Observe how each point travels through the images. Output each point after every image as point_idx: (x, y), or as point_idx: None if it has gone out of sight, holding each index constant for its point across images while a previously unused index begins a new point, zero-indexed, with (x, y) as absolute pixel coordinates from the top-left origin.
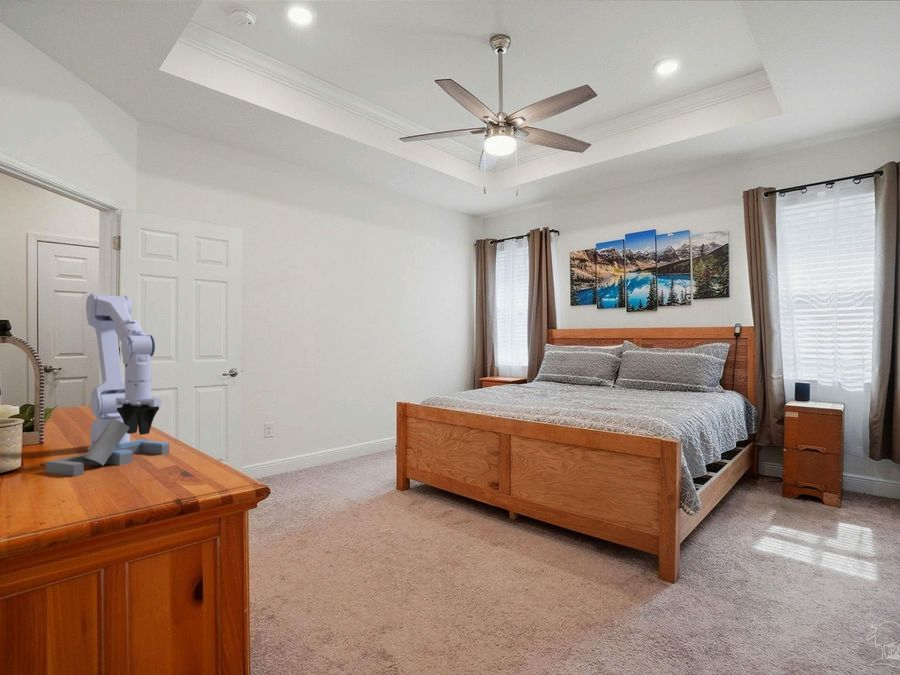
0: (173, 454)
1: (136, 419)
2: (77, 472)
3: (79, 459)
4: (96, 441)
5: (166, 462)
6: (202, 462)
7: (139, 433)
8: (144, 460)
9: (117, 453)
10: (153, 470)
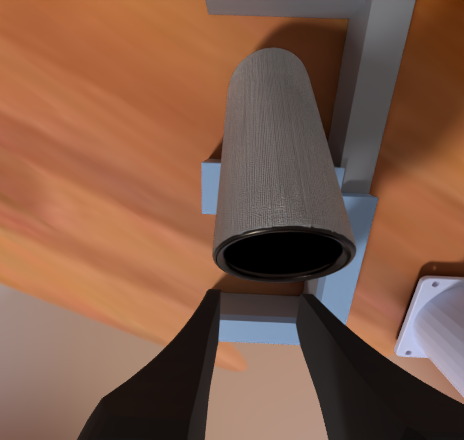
0: (191, 311)
1: (322, 392)
2: None
3: (350, 88)
4: (284, 93)
5: (104, 234)
6: (3, 261)
7: (218, 291)
8: (201, 235)
9: (214, 162)
10: (27, 143)
